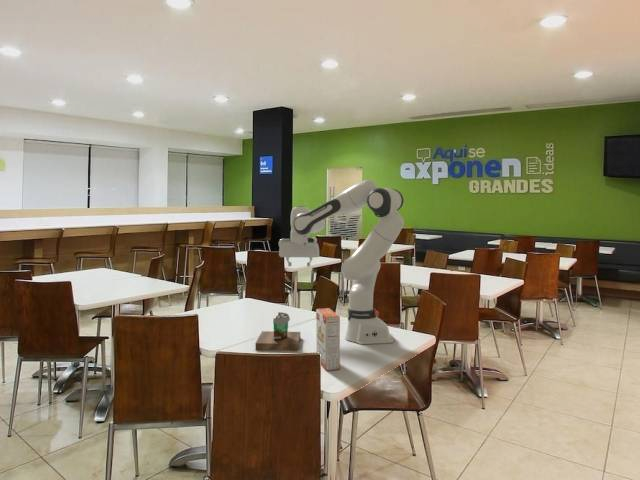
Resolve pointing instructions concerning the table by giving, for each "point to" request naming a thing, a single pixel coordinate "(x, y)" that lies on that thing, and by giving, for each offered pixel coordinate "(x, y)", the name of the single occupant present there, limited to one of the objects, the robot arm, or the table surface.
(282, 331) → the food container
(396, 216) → the robot arm
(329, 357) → the cracker box
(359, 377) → the table surface
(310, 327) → the table surface
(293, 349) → the walnut stand
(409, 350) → the table surface
